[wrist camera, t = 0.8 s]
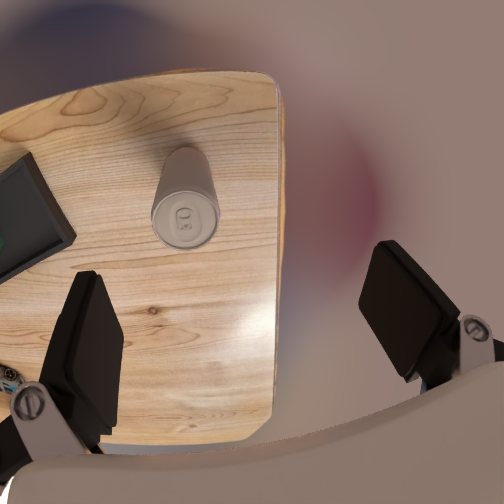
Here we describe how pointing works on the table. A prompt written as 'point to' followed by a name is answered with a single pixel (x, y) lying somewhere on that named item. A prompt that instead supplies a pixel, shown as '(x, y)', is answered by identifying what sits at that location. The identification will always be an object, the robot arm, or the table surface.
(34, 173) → the tray
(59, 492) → the robot arm
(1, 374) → the toy car
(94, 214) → the table surface
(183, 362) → the table surface
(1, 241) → the middle bottle
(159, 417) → the table surface
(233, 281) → the table surface
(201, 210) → the beverage can
